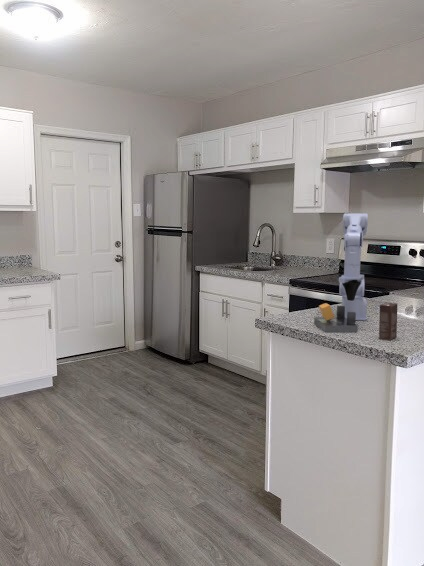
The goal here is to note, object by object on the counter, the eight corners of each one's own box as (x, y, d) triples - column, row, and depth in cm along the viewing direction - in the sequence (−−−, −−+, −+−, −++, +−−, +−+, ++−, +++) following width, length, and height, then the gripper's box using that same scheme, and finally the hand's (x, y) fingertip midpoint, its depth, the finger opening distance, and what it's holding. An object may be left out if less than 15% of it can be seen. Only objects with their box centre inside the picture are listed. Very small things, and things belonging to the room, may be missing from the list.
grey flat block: (344, 323, 192) (344, 316, 192) (357, 332, 177) (357, 325, 177) (314, 323, 191) (314, 316, 191) (325, 332, 176) (325, 325, 176)
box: (384, 335, 173) (385, 302, 171) (396, 337, 170) (398, 303, 168) (377, 338, 168) (379, 304, 167) (390, 340, 165) (392, 305, 164)
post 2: (353, 323, 180) (354, 311, 179) (356, 325, 177) (357, 313, 176) (345, 323, 179) (346, 311, 179) (348, 325, 177) (348, 313, 176)
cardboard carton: (331, 317, 186) (325, 302, 185) (336, 320, 181) (330, 305, 180) (324, 320, 186) (318, 305, 185) (328, 323, 181) (322, 308, 180)
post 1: (343, 316, 192) (343, 305, 191) (345, 318, 189) (346, 307, 188) (335, 316, 191) (336, 305, 191) (338, 318, 188) (338, 307, 188)
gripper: (353, 262, 190) (351, 296, 191) (332, 264, 180) (330, 301, 182) (369, 263, 184) (367, 299, 186) (349, 266, 175) (347, 303, 177)
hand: (350, 300), depth 184 cm, fingers closed
